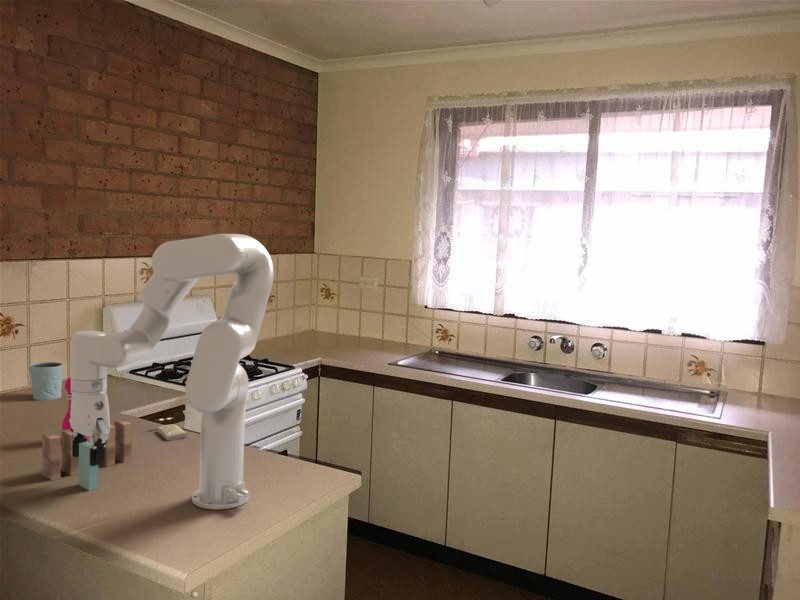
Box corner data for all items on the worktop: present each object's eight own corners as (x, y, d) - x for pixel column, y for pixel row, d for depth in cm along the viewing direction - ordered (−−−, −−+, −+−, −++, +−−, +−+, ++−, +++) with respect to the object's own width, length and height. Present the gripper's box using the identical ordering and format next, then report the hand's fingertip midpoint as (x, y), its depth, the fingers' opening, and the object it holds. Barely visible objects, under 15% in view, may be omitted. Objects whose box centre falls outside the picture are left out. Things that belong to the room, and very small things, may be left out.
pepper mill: (95, 441, 188) (95, 371, 186) (68, 446, 183) (68, 374, 181) (84, 435, 193) (84, 366, 191) (57, 439, 187) (58, 369, 186)
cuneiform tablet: (174, 417, 202) (187, 427, 192) (174, 429, 202) (187, 440, 193) (154, 419, 199) (167, 430, 189) (154, 432, 199) (167, 443, 189)
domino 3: (97, 488, 154) (98, 446, 153) (89, 490, 153) (89, 448, 152) (87, 482, 157) (87, 441, 156) (78, 485, 156) (79, 443, 155)
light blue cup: (64, 400, 229) (65, 366, 228) (31, 403, 223) (31, 368, 222) (60, 394, 237) (60, 360, 236) (28, 396, 232) (28, 362, 230)
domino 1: (60, 478, 159) (60, 437, 158) (51, 480, 158) (51, 439, 157) (50, 472, 162) (50, 432, 162) (42, 474, 161) (42, 434, 160)
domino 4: (114, 465, 170) (115, 426, 169) (107, 466, 168) (107, 428, 167) (104, 460, 173) (105, 422, 172) (97, 462, 171) (97, 423, 171)
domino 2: (79, 473, 163) (79, 433, 162) (71, 475, 161) (71, 435, 160) (69, 468, 166) (69, 429, 165) (61, 470, 164) (61, 430, 164)
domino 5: (131, 461, 173) (131, 423, 173) (124, 462, 172) (124, 424, 171) (121, 456, 177) (121, 419, 176) (114, 458, 175) (114, 420, 174)
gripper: (124, 389, 150) (123, 465, 152) (86, 376, 161) (86, 447, 163) (91, 394, 145) (90, 473, 146) (54, 380, 155) (54, 454, 157)
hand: (88, 459), depth 154 cm, fingers open, 7 cm apart
